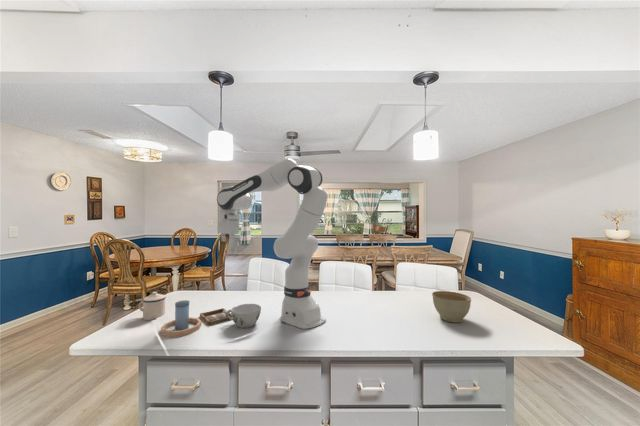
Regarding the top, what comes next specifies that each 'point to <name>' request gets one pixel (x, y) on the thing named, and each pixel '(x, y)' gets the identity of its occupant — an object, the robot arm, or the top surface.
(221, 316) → the pebble
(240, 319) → the teacup
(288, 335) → the top surface
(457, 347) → the top surface
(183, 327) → the pebble jar
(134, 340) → the top surface
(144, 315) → the teacup with lid
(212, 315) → the pebble
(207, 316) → the parts tray
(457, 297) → the planter bowl
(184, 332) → the tan flat ring
